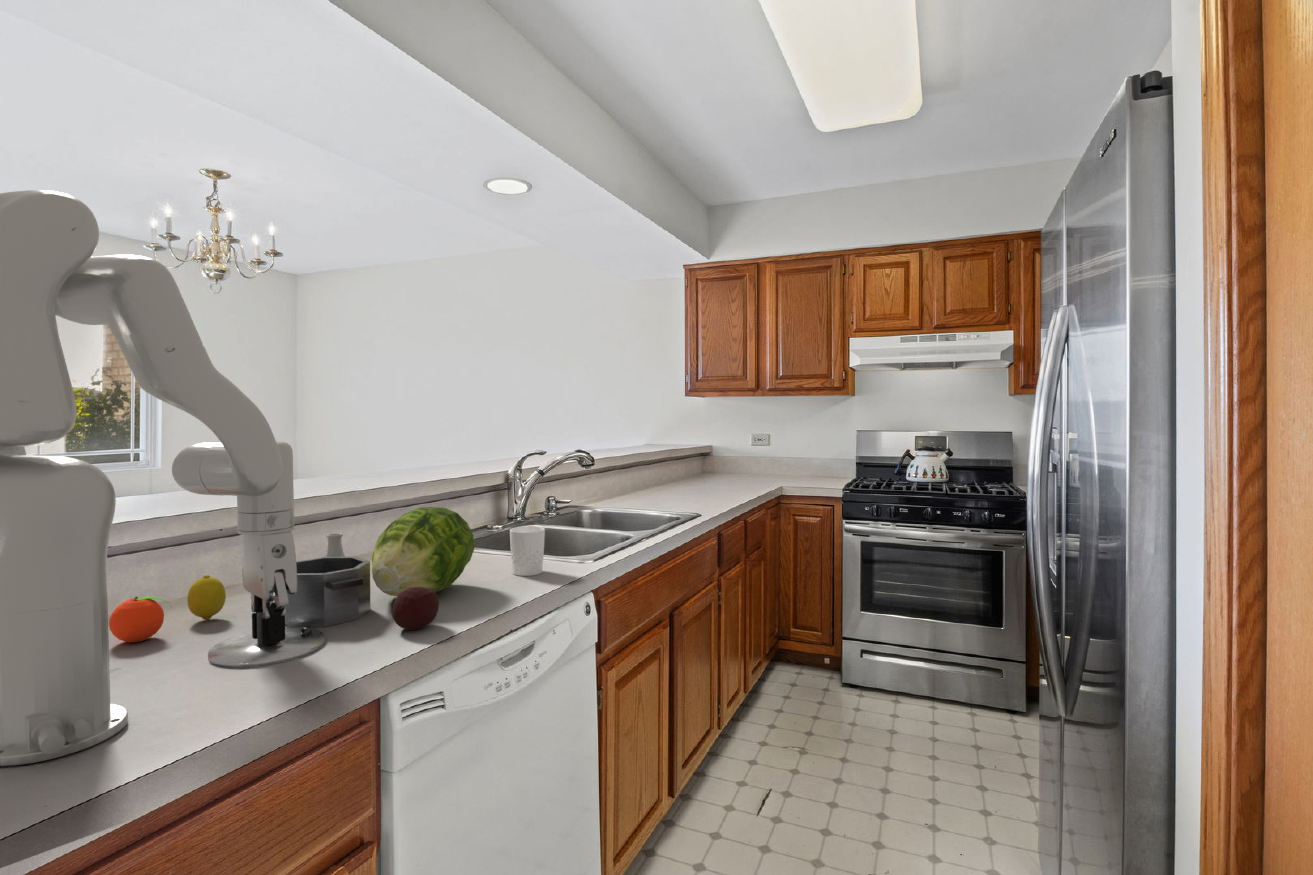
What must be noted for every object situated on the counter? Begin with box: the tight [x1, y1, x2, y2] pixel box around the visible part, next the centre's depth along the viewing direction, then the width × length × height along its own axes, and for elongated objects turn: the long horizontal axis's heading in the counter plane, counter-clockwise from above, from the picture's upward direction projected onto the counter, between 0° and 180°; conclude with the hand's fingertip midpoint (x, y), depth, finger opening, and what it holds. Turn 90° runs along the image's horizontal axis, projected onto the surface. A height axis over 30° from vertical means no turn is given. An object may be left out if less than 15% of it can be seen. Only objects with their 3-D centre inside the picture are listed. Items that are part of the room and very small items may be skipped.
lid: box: [207, 610, 326, 669], centre depth 102 cm, size 16×16×6 cm
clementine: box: [108, 596, 173, 643], centre depth 105 cm, size 8×7×7 cm
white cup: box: [509, 525, 546, 577], centre depth 151 cm, size 8×8×10 cm
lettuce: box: [371, 506, 475, 597], centre depth 132 cm, size 17×23×17 cm
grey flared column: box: [324, 532, 346, 557], centre depth 144 cm, size 7×7×10 cm
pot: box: [285, 556, 372, 628], centre depth 119 cm, size 19×14×9 cm
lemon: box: [187, 574, 227, 621], centre depth 115 cm, size 6×6×8 cm
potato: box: [391, 587, 440, 631], centre depth 112 cm, size 7×8×7 cm
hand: (268, 638), depth 102 cm, fingers closed on lid, 3 cm apart
